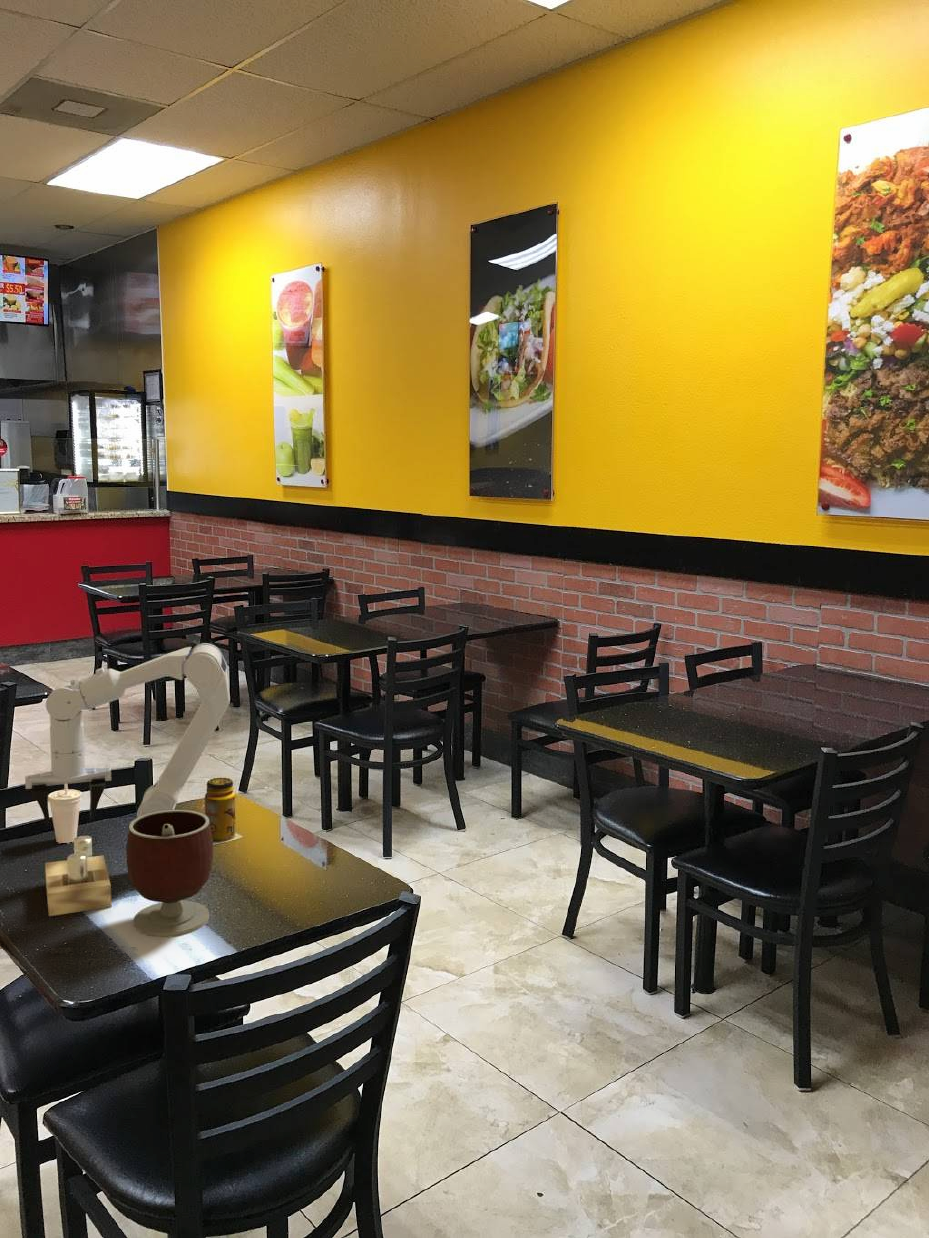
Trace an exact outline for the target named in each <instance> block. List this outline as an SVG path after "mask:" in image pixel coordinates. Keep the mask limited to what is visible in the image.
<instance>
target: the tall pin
mask: <svg viewBox="0 0 929 1238" xmlns="http://www.w3.org/2000/svg"><path fill="white" fill-rule="evenodd" d="M66 860H67V861H68V885H73V884H80V883H87V882H88V869H87V854H85V853H72V854H69V855H67V859H66Z"/></svg>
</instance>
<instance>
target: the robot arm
mask: <svg viewBox="0 0 929 1238" xmlns="http://www.w3.org/2000/svg"><path fill="white" fill-rule="evenodd" d="M164 677H170V678H173V679H176V680H179V681H183V680H184V678H185V677H186V679H187V680H188V681H189V683H190V684H191V685H192V686H193V687H194V688H195V689H196V691H197V693H198V696H199V698H200V700H201V703H200V706H199V707H198V709H197V710H196V712H195V714H194V716H193V718H192V720H191V721H190V723H189V725H188V727H187V729H186V731H185V732H184V733H183V736H182V737H181V739H180V741H179V743H178V745H177V747H176V748H175V750H174V752H173V753H172V756H171V757H170V759H169V761H168V762H167V764H166V767H165V768H164V770H163V771H162V773H161V774H160V776H159V777H158V779H157V781H156V782H155V783H154V784H153V785H151V786H150V787H148V788H147V789H146V791H145V792H144V794H143V798H142V801H141V803H140V805H139V807H138V808H137V811H136V818H138V817H140V816H143V815H146V814H149V813H154V812H159V811H167V810H176V807H177V805H178V800H179V799H178V798H179V797H180V795H181V792H182V791H183V788H184V787H185V784H186V782H187V781H188V779H189V778H190V775H191V774H192V772H193V771H194V769H195V767H196V765H197V763H198V762H199V759H200V758H201V756H202V754H203V752H204V751H205V749H206V747H207V745H208V743H209V742H210V740H211V738H212V737H213V734H214V733H215V731H216V729H217V727H218V726H219V723H220V722H221V720H222V718H223V717H224V715H225V713H226V711H227V710H228V708H229V706H230V702H231V696H230V685H229V675H228V664H227V661H226V660H225V657H224V655H223V653H222V651H221V650H220V649H219V648H218V647H217V646H216V645H215V644H213V643H207V642H204V643H203V642H202V643H199V644H197V645H196V646H194V647H193V648H192V646H187V647H183V648H180V649H178V650H174V651H171V652H169V653H166V654H163V655H162V656H158V657H156V658H154V659H151V660H148V661H146V662H143V663H141V664H138V665H136V666H134V667H130V668H128V669H125V670H123V671H119V670H116V669H114V668H107V669H105V668H104V667H101V668H98V669H96V670H95V673H93V674H91V675H88V676H85V677H82V678H79V679H77V677H74V678H72V679H70V681H69V682H64V683H61V684H58V685H57V686H56V687H55V688H54V690H52V691H51V692H50V693H49V695H48V696H47V699H46V702H45V708H46V711H47V713H48V715H49V722H50V723H49V724H50V726H49V741H50V762H51V763H50V766H51V769H50V771H46V772H41V773H35V774H29V775H28V774H27V775H24V777H25V778H24V779H25V785H24V786H25V789H26V790H28V789H32V790H31V791H32V795H33V796H34V798H35V801H37V803H38V805H39V808H40V810H41V812H42V815H43V819H44V823H45V826H50V825H51V824H50V823H51V822H50V812H49V802H48V795H49V792H48V786H56V785H64V784H67V785H68V784H77V783H86V782H87V783H88V782H89V798H90V799H89V800H90V801H89V819H90V821H91V822H92V821H96V812H97V808H98V805H99V803H100V799H101V797H102V794H103V793H104V791H105V789H106V782H109V781H112V770H111V768H110V767H95V768H94V767H86V761H85V759H86V757H85V756H86V755H85V754H86V753H85V727H84V720H83V717H84V716H83V710H84V711H85V710H86V711H87V710H88V711H89V710H91V709H95V708H97V707H100V706H103V705H105V704H109V703H111V702H114V701H117V700H119V699H121V698H123V697H124V695H125V692H126V690H128V689H129V688H133V687H136V686H140V685H141V684H142V685H143V684H146V683H149V682H152V681H155V680H158V679H161V678H164Z"/></svg>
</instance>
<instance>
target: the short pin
mask: <svg viewBox="0 0 929 1238" xmlns="http://www.w3.org/2000/svg"><path fill="white" fill-rule="evenodd" d="M73 852H74V853H85V854H87V857H93V839H92V836H89V835H81V836H77V837H76V838H75V839H74V842H73ZM74 853H73V854H74Z"/></svg>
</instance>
